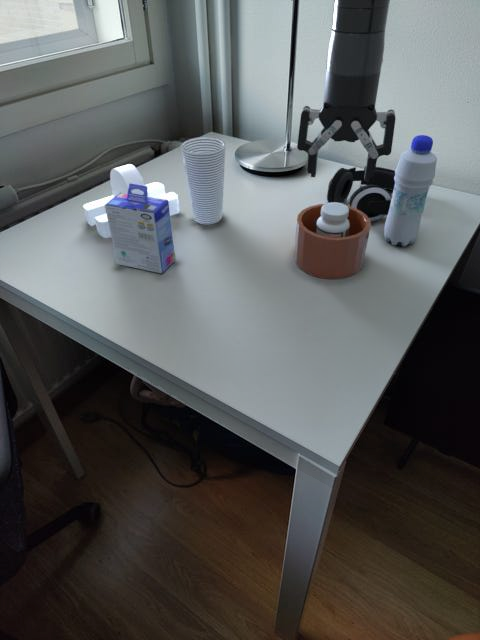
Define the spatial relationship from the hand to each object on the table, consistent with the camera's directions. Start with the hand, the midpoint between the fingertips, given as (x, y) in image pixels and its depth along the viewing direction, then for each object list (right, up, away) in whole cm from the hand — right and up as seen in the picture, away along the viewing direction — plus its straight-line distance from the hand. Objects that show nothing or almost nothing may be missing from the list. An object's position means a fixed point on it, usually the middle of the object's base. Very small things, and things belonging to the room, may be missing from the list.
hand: (339, 177), depth 75 cm
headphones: (+13, +2, +26) cm, 29 cm away
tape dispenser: (-39, -1, +24) cm, 46 cm away
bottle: (+15, -8, +15) cm, 22 cm away
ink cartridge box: (-34, -13, +11) cm, 37 cm away
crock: (0, -12, +10) cm, 16 cm away
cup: (-23, -2, +23) cm, 33 cm away
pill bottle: (0, -12, +10) cm, 16 cm away
